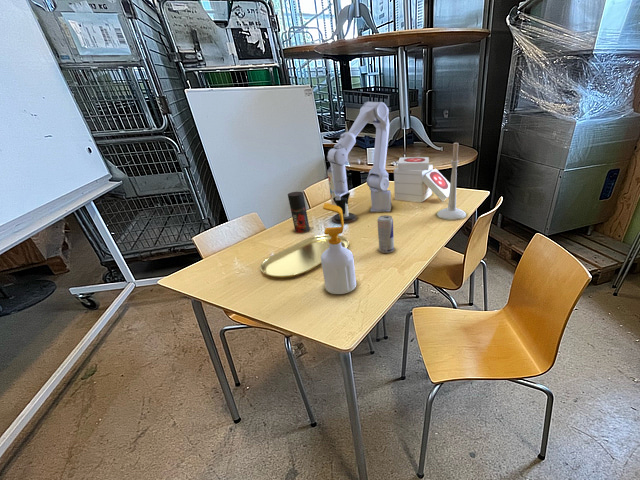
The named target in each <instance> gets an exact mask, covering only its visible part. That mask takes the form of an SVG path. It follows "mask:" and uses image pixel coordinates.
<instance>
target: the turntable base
mask: <svg viewBox="0 0 640 480" xmlns="http://www.w3.org/2000/svg"><path fill="white" fill-rule="evenodd" d="M353 214H354V218H353V219H350V220H344V225H347V224H351V223H354V222H356V221H357V220H358V216H357V215H356V214H355V213H353ZM331 222H332V223H335V224H339V225H341V221H340V220H336V219H334V215H332V217H331Z"/></svg>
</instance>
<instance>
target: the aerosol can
mask: <svg viewBox="0 0 640 480" xmlns="http://www.w3.org/2000/svg"><path fill="white" fill-rule="evenodd" d="M326 171H327V180H328V181H327V182H328V188H329V194H330V202H331V203H330V204H332V205H336V203H335V202H334V200H333V198H334V197H335V194H334V193H332V190H334V185H333V177H332V169H331V166H329V167H328V169H327V170H326ZM336 206H337V205H336Z"/></svg>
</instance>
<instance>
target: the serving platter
mask: <svg viewBox="0 0 640 480" xmlns="http://www.w3.org/2000/svg"><path fill="white" fill-rule="evenodd" d="M337 238H340V239H341V245H342V247H345V248H347V249H348V248H349V246H350V241H349V239H348V238H347V237H346V236H343V235H340V234H339V235H338V236H337ZM329 239H331V236H329V234H327V235H326V234H319V235H313V236H311V237H308V238H305V239H303V240H301V241H299V242H297V243H295V244H292V245H291V246H289V247H287V248H284V249H283V250H281V251H278V252H276V253H275V254H273V255H269V257H266V258H265V259H264V260H263V261H262V262H261V263H260V265H259V268H260V271H261V272H262V273H263V274H264V275H266V276H268V277H270V278H275V279H276V278H277V279H288V278H294V277H298V276H301V275H305V274H307V273H309V272H311V271H312V270H314V269H316V268H318V267H319V266H322V263H321V255H322V254H323V252H324V251H325V250H327V249H328V248H330V247H329Z"/></svg>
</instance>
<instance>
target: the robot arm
mask: <svg viewBox="0 0 640 480" xmlns="http://www.w3.org/2000/svg"><path fill="white" fill-rule="evenodd" d="M389 113H390V109H389V107H388V106H387V104H386V103H385V102H383V101H366V102H364V103H363V105H362V106H361V107H360V109H359V113H358V115H357V117H356V118H355V120H354V122H353V123H352V125H351V127H350V128H349V130H348V131H345V132H343V133H341V134H340V138H339V139H338V141H336V143H335V144H334V145H333V148H330V149H329V150H328V152H327V156H326V159H327V161H328V162H329V164H330V167H331V169H332V177H333V185H334V190H332V193H334V194H335V197H334V198H333V200H334V202H335V203H336V205H337V206H339V207H340V208H341V209H342V211H343V214H345V205H346V204H348V205H349V198H350V196H351V193H350V192H349V186H348V177H347V168H346V163H347V162H348V157H349V154H350V152H351V150H352V149H353V148H354V146H355V145H356V143H357V140H356V138H357V137H358V135H359V134H360V133H361V132H362V131H363V129H364V128H365V126H366V125H367V124H368V123H372V124H373V126H374V127H375V139H374V150H373V159H372V160H373V161H372V167H371V169H369V171H368V176H367V178H366V185H367V186H368V187H369V190H370V199H371V200H370V202H371V204H370V205H371V207H370V210H369V212H373V213H374V212H377V213H380V212H381V213H382V212H384V213H385V212H386V213H387V212H391V210H392V207H393V203H392V191H391V189H390V190H389V187H390V180H389V175H390V174H389V173H388V171H387V170H386V164H387V156H388V155H387V154H388V153H387V152H388V145H389V136H390V135H389V134H390V125H391V124H390V119H389Z"/></svg>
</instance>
